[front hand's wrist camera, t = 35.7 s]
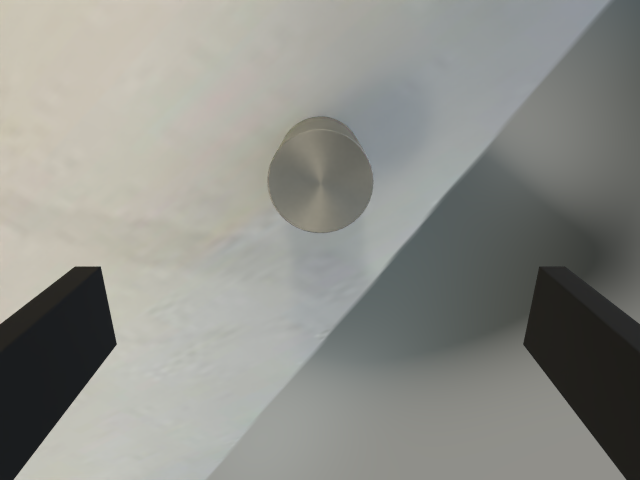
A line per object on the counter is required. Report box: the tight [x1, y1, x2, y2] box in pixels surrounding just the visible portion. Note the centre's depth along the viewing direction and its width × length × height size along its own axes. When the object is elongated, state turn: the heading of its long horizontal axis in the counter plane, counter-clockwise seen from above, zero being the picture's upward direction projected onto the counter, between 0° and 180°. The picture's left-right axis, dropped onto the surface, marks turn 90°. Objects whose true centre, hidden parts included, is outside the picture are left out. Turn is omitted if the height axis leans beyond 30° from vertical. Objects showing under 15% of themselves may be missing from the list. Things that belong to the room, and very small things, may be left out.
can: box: [268, 117, 374, 233], centre depth 32 cm, size 7×7×9 cm
